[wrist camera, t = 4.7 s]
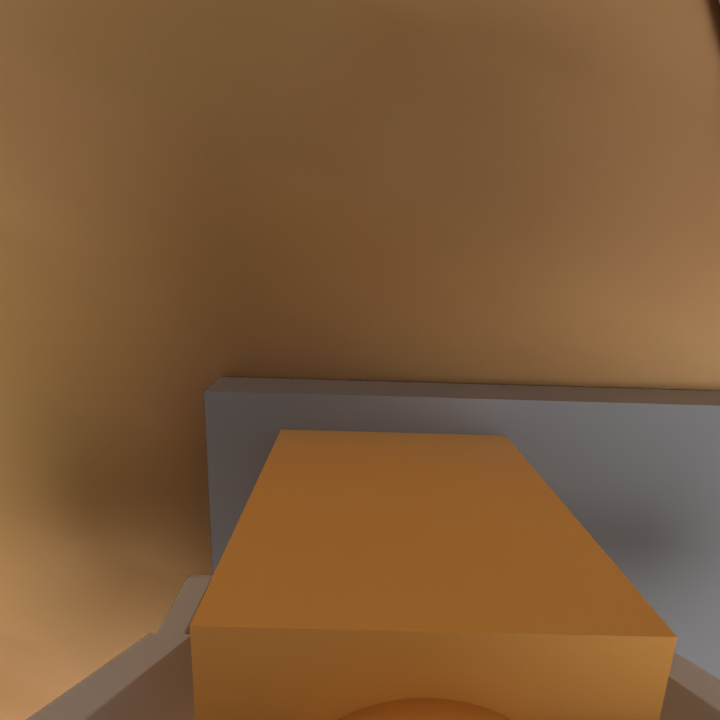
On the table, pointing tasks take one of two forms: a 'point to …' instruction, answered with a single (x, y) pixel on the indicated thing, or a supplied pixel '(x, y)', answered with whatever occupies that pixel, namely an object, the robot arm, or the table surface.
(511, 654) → the orange knobbed cube
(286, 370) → the table surface
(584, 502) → the board
